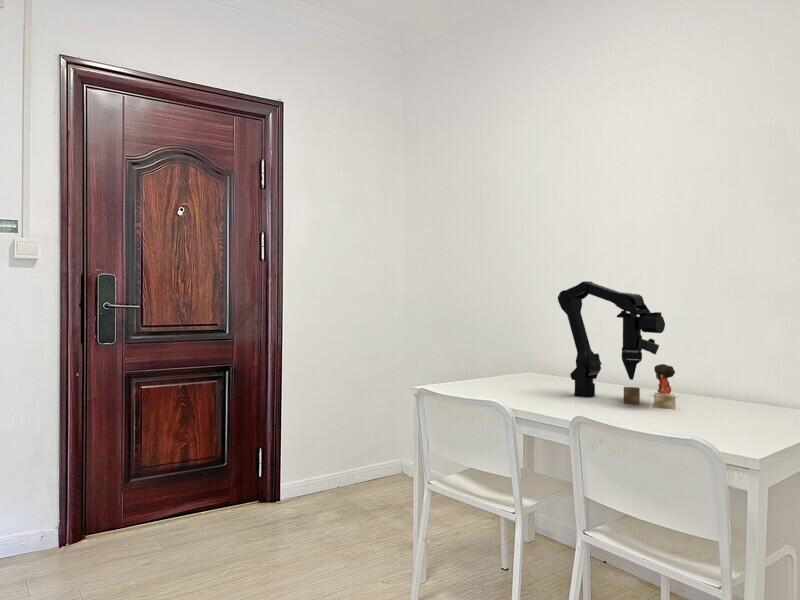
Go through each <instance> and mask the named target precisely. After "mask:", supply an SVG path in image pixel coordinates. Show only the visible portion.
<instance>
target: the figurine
mask: <svg viewBox="0 0 800 600" xmlns="http://www.w3.org/2000/svg"><path fill="white" fill-rule="evenodd" d="M653 369H654V372H655V378H656V379H657V380H658V381H659V382H658V383H659V384H658V388H657V393H670V394H672V387H671V386H670V381H669V380H668V379H669V378H672V377H674V375H675V374H676V371H675V369H674V366H671V365H667V364H665V363H662V364H656V365H655V366H654V368H653Z"/></svg>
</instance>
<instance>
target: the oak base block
mask: <svg viewBox="0 0 800 600" xmlns="http://www.w3.org/2000/svg"><path fill="white" fill-rule="evenodd" d="M653 397H654V398H653V404H654V406H655V408H662V409H675V405H676V395H675V393H671V394H670V393H658V392H654V393H653ZM662 409H661V410H662Z"/></svg>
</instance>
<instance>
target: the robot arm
mask: <svg viewBox="0 0 800 600" xmlns="http://www.w3.org/2000/svg"><path fill="white" fill-rule="evenodd" d="M589 295H590V296H594V297H597V298H599V299H601V300H605V301H608V302H609V303H612V304H614V305H615V306H616V308H619V309H620V310H621V311H620V313H618V314H617V315H616V318H621V319H622V347H621V361H622V364H623V366H624V369H625V370H626V373H627V377H628V378H629V381H630V380H631V381H632V380H634V377H635V373H636V368H637V365H638V364H640V362H642V360H643V352H642V351H643V350H644V351H646V352H649V353H651V354H652V355H657V352H658V350H659V347H660V345H659V344H658V343H656V342H655V339H653V338H649V339H648V340H647V339H644V338H643V336H642V332H643V333H652V334H662V333H663V332H664V331H665V327H666V321H665V320H664V317H663V315H662V312H660V311H658V312H654V311H653V312H651V311H650V309H649V308H648V307H647V304H645V300H644V298H643V296H642V295H640V294H638V293H630V292H623V291H622V292H620V291H618V290H615V289H612V288H608V287H605V286H602V285H601V284H600V285H599V284H597V283H594V282H593V281H586V280H585V281H582V282H580V283H578V284H576V285H574V286H571V287H570V288H568V289H566V290H565V289H564V290H561V291H560V292H559V294H558V295H557V300H558V304H559V306H560V308H561V310H562V311H563V312H564V313H565V314H566V315H567V319H568V322H569V327H570V330H571V333H572V337H573V342H574V347H575V349H576V358H575V368H574V369H573V370H572V372H570V378H571V380H573V381H574V395H573V397H575V398H576V397H577V398H594V397H595V395H596V383H594V380H596V379H597V378H598V374H600V372H601V370H602V366H601V365H602V361H601V359H600V355H599V353H594V351H593V350H592V348H591V345H590V342H589V337H588V334H587V330H586V326H585V323H584V320H583V315H582V307H583V300H584V299H585V298H588V296H589Z"/></svg>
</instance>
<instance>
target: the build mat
mask: <svg viewBox="0 0 800 600" xmlns="http://www.w3.org/2000/svg"><path fill="white" fill-rule="evenodd" d="M648 405H649V409H650V410H662V411H663V410H665V411H678V412H679V411H682V410H681V407H680V405H678V404H675V409H662V408H655V406H654V403H649V404H648Z"/></svg>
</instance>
